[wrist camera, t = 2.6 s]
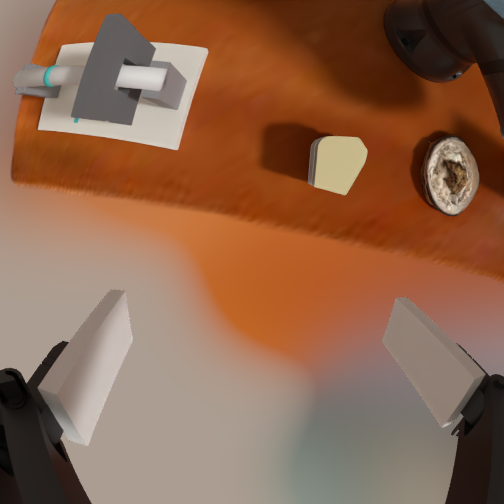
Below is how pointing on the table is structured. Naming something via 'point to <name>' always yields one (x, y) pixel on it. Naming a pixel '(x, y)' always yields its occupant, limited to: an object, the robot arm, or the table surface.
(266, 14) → the table surface
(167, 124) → the pipe rig
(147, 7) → the table surface
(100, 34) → the collar
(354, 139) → the beige layered block
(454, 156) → the white shallow bowl
